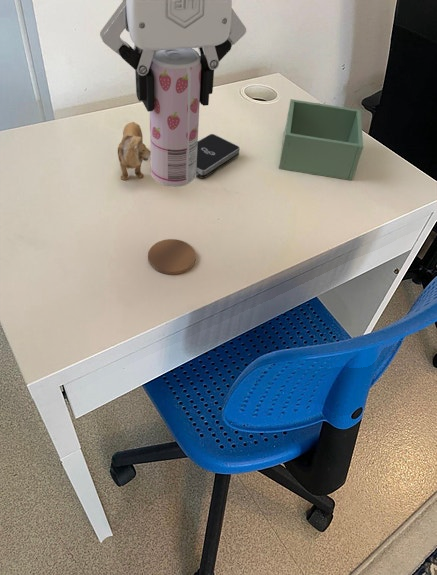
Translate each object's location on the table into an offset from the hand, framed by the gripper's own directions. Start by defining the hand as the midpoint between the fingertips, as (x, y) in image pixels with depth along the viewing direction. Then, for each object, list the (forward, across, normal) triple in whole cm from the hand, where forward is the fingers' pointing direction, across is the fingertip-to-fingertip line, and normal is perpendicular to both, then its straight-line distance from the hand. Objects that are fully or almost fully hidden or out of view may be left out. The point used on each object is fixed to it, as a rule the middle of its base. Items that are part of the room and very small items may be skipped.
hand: (174, 101), depth 56 cm
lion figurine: (+24, 0, +24) cm, 34 cm away
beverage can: (+10, 0, 0) cm, 10 cm away
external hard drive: (+24, +14, +23) cm, 36 cm away
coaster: (+24, 0, 0) cm, 24 cm away
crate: (+24, +35, +20) cm, 47 cm away
